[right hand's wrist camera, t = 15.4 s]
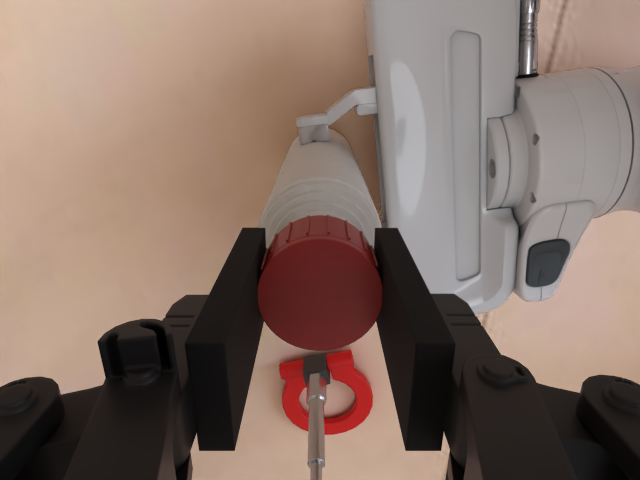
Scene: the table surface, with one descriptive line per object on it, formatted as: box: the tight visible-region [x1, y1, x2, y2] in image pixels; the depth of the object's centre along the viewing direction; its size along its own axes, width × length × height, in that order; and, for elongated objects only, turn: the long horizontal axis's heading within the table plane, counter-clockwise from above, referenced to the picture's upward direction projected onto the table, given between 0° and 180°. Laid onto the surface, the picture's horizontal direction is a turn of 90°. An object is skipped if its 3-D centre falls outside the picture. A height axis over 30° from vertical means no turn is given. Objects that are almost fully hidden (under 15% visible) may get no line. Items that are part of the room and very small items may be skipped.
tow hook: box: [279, 350, 373, 480], centre depth 34 cm, size 8×13×9 cm
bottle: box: [258, 128, 382, 249], centre depth 23 cm, size 5×5×21 cm
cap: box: [258, 215, 383, 351], centre depth 13 cm, size 4×4×2 cm
